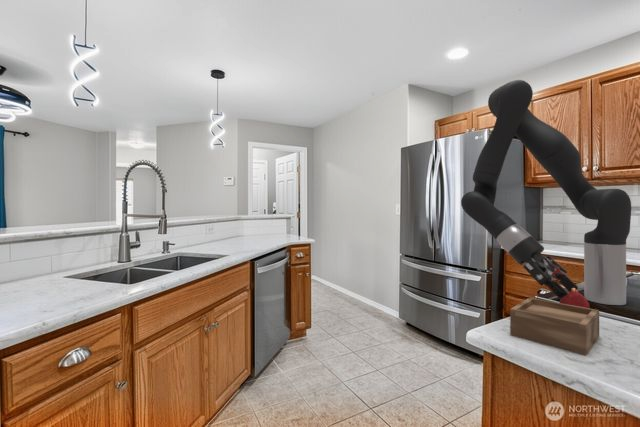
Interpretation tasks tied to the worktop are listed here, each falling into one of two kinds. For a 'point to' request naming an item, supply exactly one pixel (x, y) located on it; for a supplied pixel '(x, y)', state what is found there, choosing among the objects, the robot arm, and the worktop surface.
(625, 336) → the worktop surface
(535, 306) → the brown wooden box
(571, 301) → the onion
